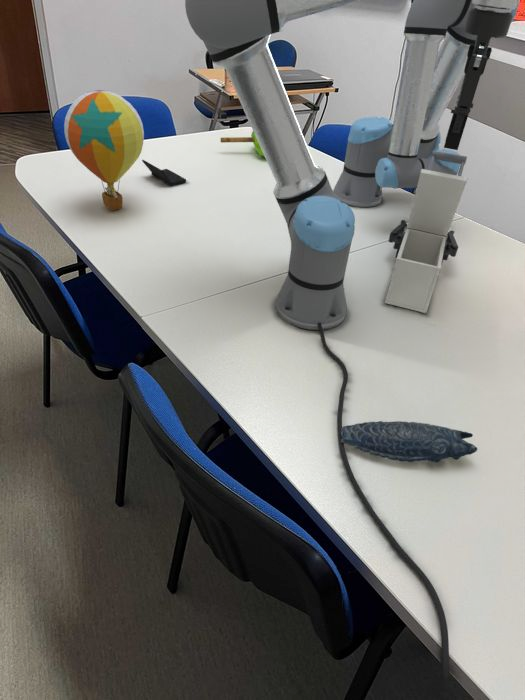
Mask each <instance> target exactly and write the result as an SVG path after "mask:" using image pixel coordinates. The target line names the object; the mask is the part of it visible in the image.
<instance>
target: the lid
mask: <svg viewBox="0 0 525 700" xmlns="http://www.w3.org/2000/svg"><path fill="white" fill-rule="evenodd" d="M467 158H468V156H465V155H455V154H449V153H444V152H438V151H432V154H431V160H430V164H429V167H428V170H425V169H422V170H421V173H420V177H419V181H418V185H417V188H415V193H414V198H413V200H412V206H411V209H410V214H409V217H408V221H407V223H408V225H407V228H411V229H416V230H421V231H425V232H430V233H434V234H439V235H444V236H447V234H448V232H449V231H450V228H451V226H452V223H453V220H454V218H455V215H456V212H457V209H458V206H459V204H460V202H461V198H462V196H463V193H464V190H465V187H466V185H467V182H468V179H469V178H468V177H467V176H462V175H463V171H464V167H465V165H466V162H467V160H468V159H467ZM434 159H436V160H441V161H446V162H452V163H457V164H460V167H459V171H458V173H457V175H451V174H446V173H441V172H436V171H431V169H432V166H433V162H434Z"/></svg>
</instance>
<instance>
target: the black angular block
mask: <svg viewBox="0 0 525 700" xmlns="http://www.w3.org/2000/svg"><path fill="white" fill-rule="evenodd" d="M141 161H142V163H143V164H144V165H145V167H147V169H148V170H149V171H150V172H151V174H150V175H151V176H153V177H155V178H156V179H158V180H160V181H162V182H163V183H165V184H167V185H168V186H170V187H172V186H177V185H180V184H184V183H185V184H186V183H187V179H186V178H184V177H183V176H181V175H179V174H177V173H175V172H173V171H172V170H170V169H168V168H164V169H161V168H159V167H157V166H155V165H153V164H151V163H150V162H148V161H146V160H145V159H142V160H141Z"/></svg>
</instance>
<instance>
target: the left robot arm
mask: <svg viewBox="0 0 525 700" xmlns="http://www.w3.org/2000/svg"><path fill="white" fill-rule="evenodd" d="M184 1H185V2H184V7H185V14H186V17H187V20H188V24H189V25H190V28H191V29H192V30H193V32H194V34H195V35H196V36H197V37H198V38H199V39H200V40H201V41H202V42H203V44H204V46H205V48H206V51H207V52H208V55H209V57H210V59H211V61H212V63H213V64H214V65H216V66H218V67H221V68H223V69H224V70H225V72H226V74H227V76H228V79H229V80H230V83H231V85H232V87H233V89H234V92H235V93H236V96H237V98H238V101H239V102H240V105H241V107H242V109H243V112H244V114H245V116H246V118H247V121H248V122H249V125H250V128H251V129H252V132H253V131H254V134H255V136H256V138H257V140H258V143H259V145H260V147H261V149H262V151H263V154H264V156H265V157H264V156H263V157H264V158H265V160H266V163H267V164H268V167H269V170H270V171H271V174H272V176H273V179H274V180H275V182H276V183H275V186H274V189H273V191H272V193H273V196H274V198H275V201H276V203H277V204H278V207H279V209H280V212H281V213H282V216H283V218H284V220H285V223H286V225H287V230H288V234H289V239H290V255H289V262H288V263H289V264H288V270H287V271H288V272H287V275H286V278H285V279H284V282H283V283H282V285H281V287H280V290H279V291H278V294H277V296H276V301H275V311H276V313H277V315H278V316H279V317H280V318H281V319H282V320H283V321H284V322H286V323H287V324H289V325H291V326H293V327H296V328H300V329H304V330H310V331H318V332H319V335H320V340H321V345H322V347H323V349H324V351H325V352H326V353H327V355H328V356H329V357H330V358H332V359H333V360H334V361H335V362H336V363H337V364H338V366H340V368H341V370H342V374H343V379H342V384H341V387H340V392H339V397H338V407H337V408H338V409H337V415H336V416H337V418H336V422H337V423H336V424H337V425H336V426H337V427H336V429H337V441H338V447H339V448H338V449H339V452H340V453H339V454H340V457H341V460H342V464H343V466H344V468H345V469H344V470H345V471H346V474H347V477H348V479H349V481H350V483H351V485H352V487H353V489H354V491H355V492H356V494H357V496H358V497H359V500H360V501H361V503H362V504H363V506H364V508H365V509H366V511H367V512H368V514H369V515H370V517H371V518H372V519H373V521H374V522H375V524H376V525H377V526H378V528H379V529H380V530H381V532H382V533H383V535H384V536H385V538H387V540H388V541H389V543H390V544H391V545H392V546H393V548H394V549H395V551H397V553H398V554H399V555H400V556H401V558H402V559H403V560H404V561H405V562H406V563H407V564H408V566H410V568H411V569H412V570H413V571H414V573H415V574H417V576H418V577H419V578H420V580H421V582H422V583H423V584H424V586H425V588H426V589H427V591H428V592H429V594H430V597H431V599H432V601H433V604H434V607H435V609H436V613H437V617H438V621H439V628H440V644H441V647H440V648H441V676H442V677H443V678H444V679H445V680H448V679H450V678H449V677H450V645H449V644H450V643H449V642H450V641H449V630H448V629H449V628H448V623H447V618H446V614H445V611H444V608H443V605H442V602H441V600H440V597H439V595H438V593H437V591H436V589H435V587H434V585H433V584H432V582H431V580H430V579H429V578H428V576H427V574H425V572H423V570H422V569H421V567H420V566H418V565H417V563H416V562H415V561H414V560H413V559H412V558H411V557H410V555H409V554H407V552H406V551H405V550H404V548H403V547H402V546H401V545H400V544H399V542H398V540H397V539H396V538H395V537H394V535H393V534H392V533H391V532H390V530H389V529H388V528H387V526H386V525H385V524H384V523H383V521H382V520H381V519H380V517H379V516H378V514H377V513H376V511H375V510H374V508H373V506H372V505H371V504H370V502H369V501H368V499H367V498H366V496H365V494H364V492H363V490H362V489H361V487H360V485H359V483H358V481H357V479H356V477H355V475H354V472H353V470H352V467H351V464H350V462H349V459H348V456H347V452H346V448H345V443H342V442H341V439H342V437H341V434H340V432H341V429H342V427H343V411H344V409H343V408H344V400H345V392H346V389H347V385H348V380H349V372H348V369H347V366H346V365H345V363H344V362H343V361H342V360H341V359H340V358H339V357H338V356H337V355H336V354H335V353H334V352H333V351H332V350H331V349H330V348H329V346H328V344H327V341H326V336H325V332H324V330H325V331H326V330H329V329H333V328H336V327H337V326H339V325H340V324H342V323H343V322H344V320H345V318H346V315H347V310H348V309H347V308H348V307H347V306H348V305H347V297H346V292H345V286H344V280H345V275H346V271H347V267H348V266H347V265H348V261H349V257H350V251H351V246H352V241H353V238H354V236H355V230H356V229H355V228H356V227H355V224H356V217H355V212H354V211H353V209H352V208H351V206H350V205H347V204H345V203H342V202H341V201H340V200H338V199H336V198H335V195H334V189H333V188H332V186H331V183H330V180H329V178H328V175H327V173H326V171H325V169H324V167H323V166H320V165H317V164H316V163H315V162H314V160H313V157H312V155H311V152H310V150H309V147H308V145H307V142H306V140H305V137H304V135H303V132H302V130H301V126H300V124H299V121H298V119H297V117H296V115H295V111H294V109H293V106H292V104H291V102H290V101H291V100H290V99H289V96H288V94H287V91H286V88H285V86H284V84H283V81H282V79H281V76H280V73H279V70H278V68H277V65H276V63H275V60H274V58H273V54H272V53H271V50H270V48H269V41H270V39H271V35H272V34H277V33H280V32H282V31H283V29H284V28H285V25H286V24H287V23H288V22H291V21H294V20H297V19H301V18H304V17H307V16H311V15H315V14H319V13H323V12H325V11H329V10H332V9H336V8H339V7H343V6H347V5H351V4H354V3H357V2H360V1H362V0H184ZM518 1H519V2H520V0H472V4H473V5H475V6H474V8H471V10H469V13H468V17H467V20H466V24H465V28H464V31H465V32H466V33H468V34H471V35H477V39H476V42H475V44H474V45H470V46H469V50H468V53H467V57H468V58H467V62H466V65H465V70H464V73H465V74H464V76H463V80H462V84H461V87H460V91H459V93H458V95H457V100H456V102H455V106H454V109H451V110H450V114H452V116H451V120H450V123H449V126H448V130H447V132H446V133H447V134H446V136H445V142H444V145H443V149H448V150H452V151H458V149H459V147H460V143H461V140H462V137H463V135H464V131H465V127H466V124H467V121H468V117H469V114H470V113H471V109H473V107H474V102H473V101H474V99H475V95H476V92H477V89H478V86H479V82H480V79H481V77H482V76H483V74H484V72H485V69H486V66H487V62H488V60H490V58H491V54H492V51H493V49H492V47H490V46H489V45H490V42H491V39H492V38H495V39H502V38H505V37H507V35H508V32H509V30H510V27H511V24H512V22H513V21H512V18H513V15H512V13H511V11H512V10H514V9H515V8H516V7H517V4H518ZM511 21H512V22H511ZM490 38H491V39H490Z"/></svg>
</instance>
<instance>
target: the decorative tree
mask: <svg viewBox="0 0 525 700" xmlns="http://www.w3.org/2000/svg"><path fill="white" fill-rule="evenodd" d="M220 143H252V144H253V145H254V148H255V149H256V151H257V153H258V154H259V156H262V157H264V158H265V156H264V154H263V151H262V149H261V147H260V145H259V143H258V140H257V138H256V136H255V134H254V131H253V130H252V131H251V136H246V137H245V136H244V137H243V136H241V137H239V136H238V137H237V136H236V137H235V136H234V137H232V136H231V137H227V136H226V137H220Z"/></svg>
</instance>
